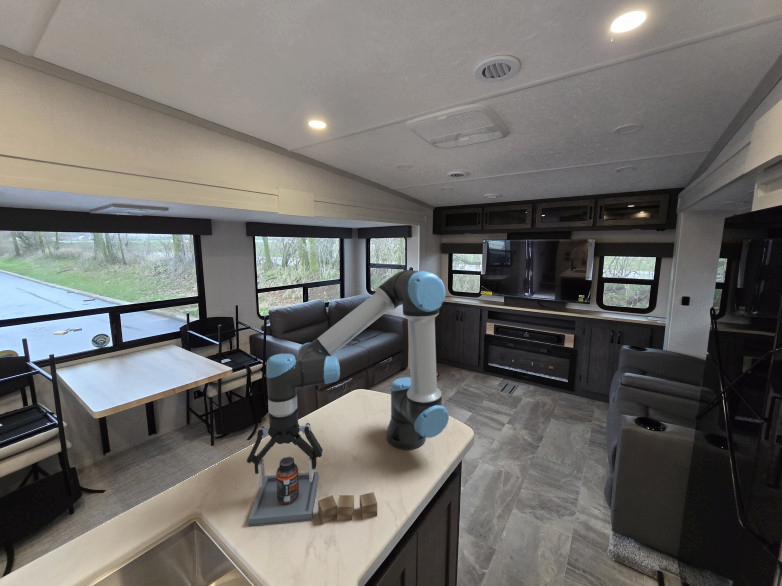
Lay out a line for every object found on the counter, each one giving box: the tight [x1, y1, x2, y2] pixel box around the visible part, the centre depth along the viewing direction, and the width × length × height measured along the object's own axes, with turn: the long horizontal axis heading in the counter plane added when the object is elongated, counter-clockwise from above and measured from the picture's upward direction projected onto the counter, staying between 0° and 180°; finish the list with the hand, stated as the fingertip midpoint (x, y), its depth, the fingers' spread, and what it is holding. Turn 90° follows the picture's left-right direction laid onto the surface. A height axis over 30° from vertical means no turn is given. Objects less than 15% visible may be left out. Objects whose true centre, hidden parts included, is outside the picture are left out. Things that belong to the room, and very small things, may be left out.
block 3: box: [359, 491, 378, 520], centre depth 85 cm, size 4×4×4 cm
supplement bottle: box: [275, 456, 299, 504], centre depth 89 cm, size 6×6×11 cm
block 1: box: [317, 494, 338, 525], centre depth 83 cm, size 4×4×4 cm
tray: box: [247, 471, 320, 527], centre depth 89 cm, size 16×16×2 cm
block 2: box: [336, 494, 355, 521], centre depth 84 cm, size 4×4×4 cm
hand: (287, 480), depth 89 cm, fingers open, 13 cm apart
